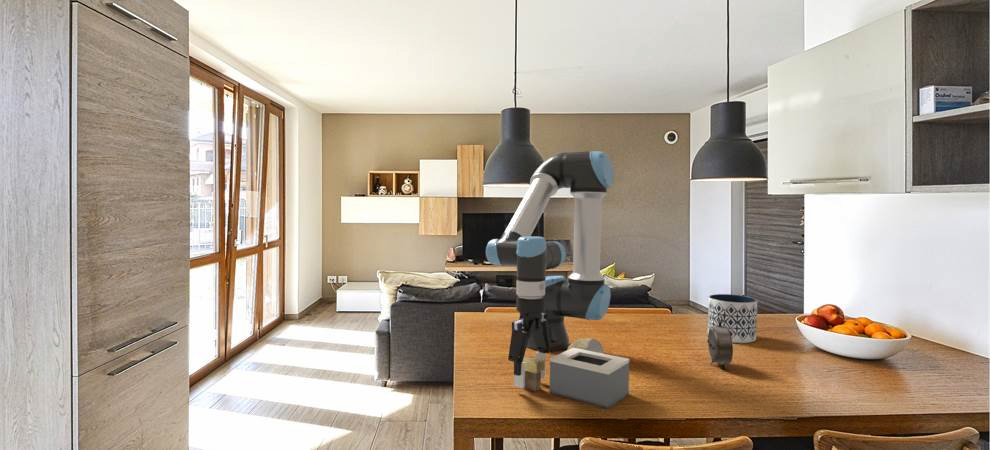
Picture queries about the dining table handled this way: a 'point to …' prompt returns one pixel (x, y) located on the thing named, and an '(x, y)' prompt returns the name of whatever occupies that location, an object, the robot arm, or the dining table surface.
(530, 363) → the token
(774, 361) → the dining table surface
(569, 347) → the coral
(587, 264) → the robot arm
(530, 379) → the stand
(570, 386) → the box
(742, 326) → the planter
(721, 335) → the alarm clock
